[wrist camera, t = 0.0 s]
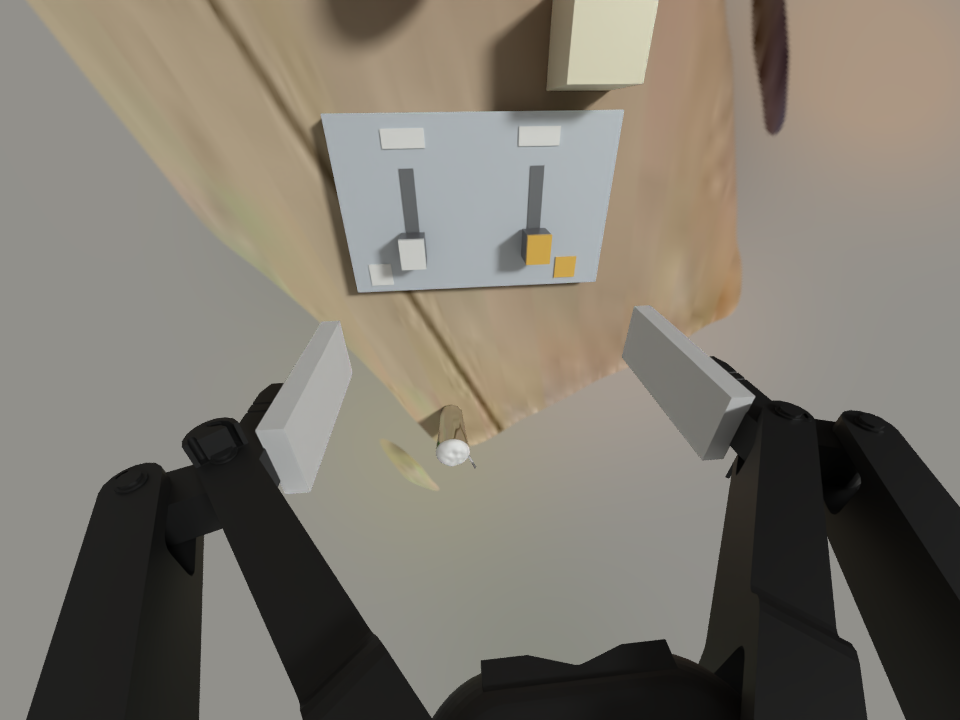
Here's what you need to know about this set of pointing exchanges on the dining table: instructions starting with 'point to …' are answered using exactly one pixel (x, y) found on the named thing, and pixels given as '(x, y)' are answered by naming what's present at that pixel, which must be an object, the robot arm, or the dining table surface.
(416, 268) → the breaker
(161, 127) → the dining table surface
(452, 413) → the milkshake
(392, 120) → the panel
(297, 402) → the robot arm
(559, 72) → the cap
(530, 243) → the breaker
